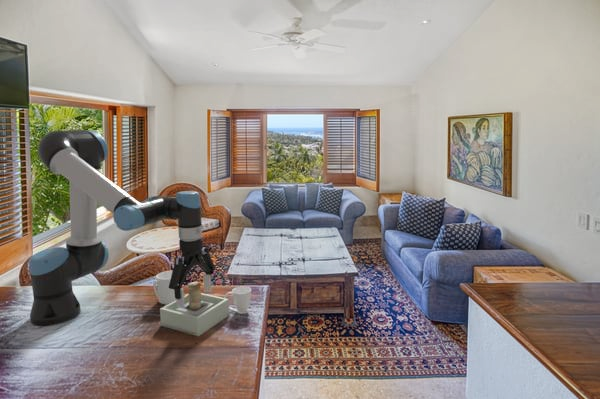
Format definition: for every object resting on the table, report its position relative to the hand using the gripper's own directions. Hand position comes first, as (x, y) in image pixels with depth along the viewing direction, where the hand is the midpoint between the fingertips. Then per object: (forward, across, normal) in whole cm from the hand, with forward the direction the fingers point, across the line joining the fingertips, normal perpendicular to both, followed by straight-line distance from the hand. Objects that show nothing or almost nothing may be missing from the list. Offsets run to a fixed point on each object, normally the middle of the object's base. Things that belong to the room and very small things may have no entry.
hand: (194, 299), depth 134 cm
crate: (+8, 0, 0) cm, 8 cm away
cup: (+8, +12, -9) cm, 17 cm away
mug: (+8, +7, +20) cm, 23 cm away
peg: (+7, 0, 0) cm, 7 cm away
